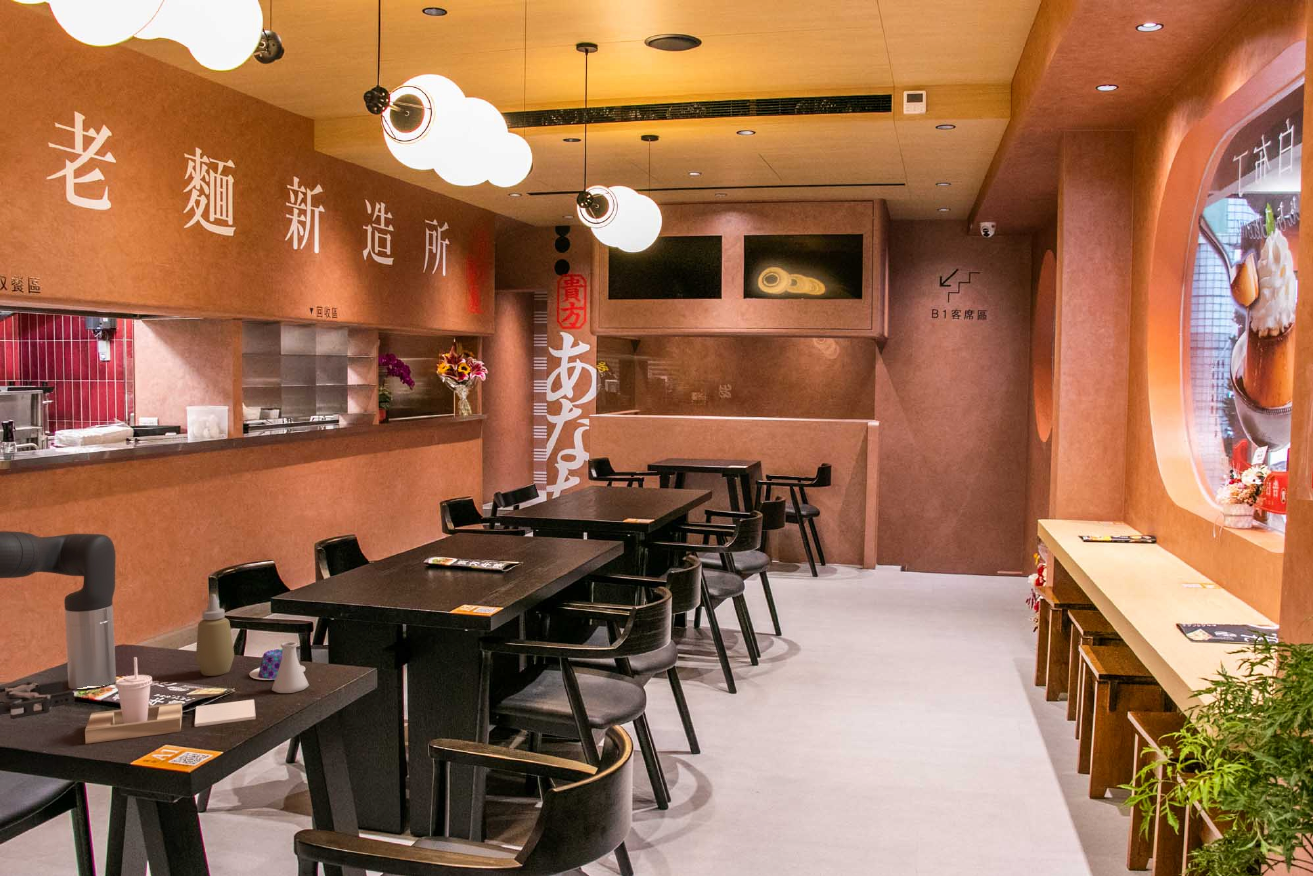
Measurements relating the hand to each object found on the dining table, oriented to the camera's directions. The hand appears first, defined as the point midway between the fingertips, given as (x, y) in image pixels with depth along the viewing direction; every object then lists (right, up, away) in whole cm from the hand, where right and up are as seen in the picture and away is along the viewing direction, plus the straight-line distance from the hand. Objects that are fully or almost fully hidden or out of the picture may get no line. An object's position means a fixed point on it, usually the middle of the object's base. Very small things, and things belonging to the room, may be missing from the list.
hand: (68, 691), depth 192 cm
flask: (+30, -8, +33) cm, 45 cm away
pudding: (+23, -7, +44) cm, 50 cm away
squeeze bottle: (+9, -7, +44) cm, 46 cm away
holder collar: (+8, -9, +9) cm, 15 cm away
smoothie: (+8, -9, +9) cm, 15 cm away
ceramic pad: (+22, -9, +16) cm, 29 cm away
